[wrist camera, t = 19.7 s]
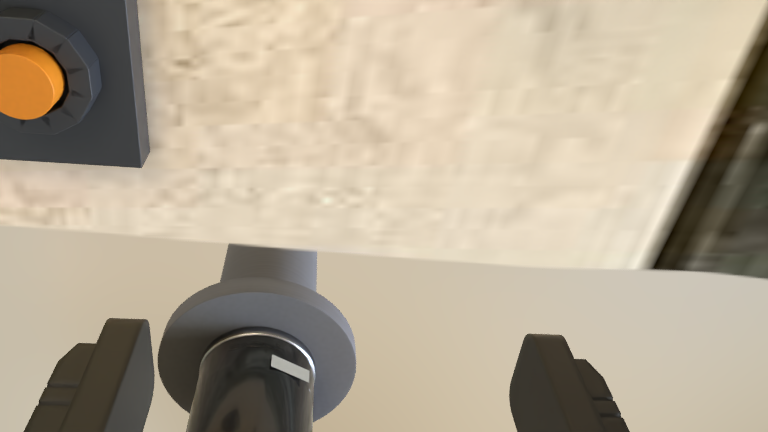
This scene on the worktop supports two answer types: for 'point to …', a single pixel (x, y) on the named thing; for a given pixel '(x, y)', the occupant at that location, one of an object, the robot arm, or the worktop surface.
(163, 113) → the worktop surface
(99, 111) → the switchbox
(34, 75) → the button
